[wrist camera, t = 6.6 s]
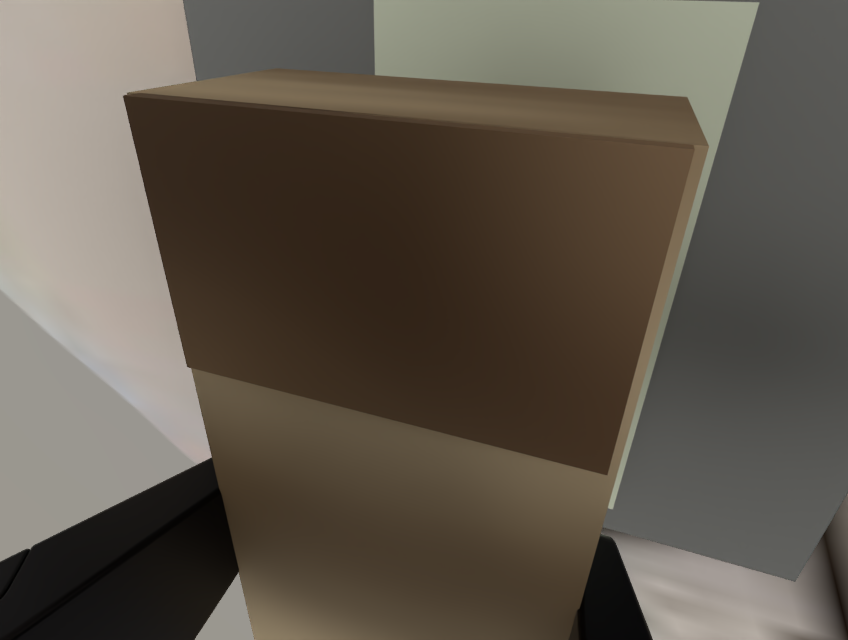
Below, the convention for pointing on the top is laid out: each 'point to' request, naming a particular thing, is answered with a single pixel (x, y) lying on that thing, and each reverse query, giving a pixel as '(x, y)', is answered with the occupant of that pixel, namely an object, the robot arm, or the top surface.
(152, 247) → the top surface
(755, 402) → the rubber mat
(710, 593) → the top surface
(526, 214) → the two-tone wooden plank
